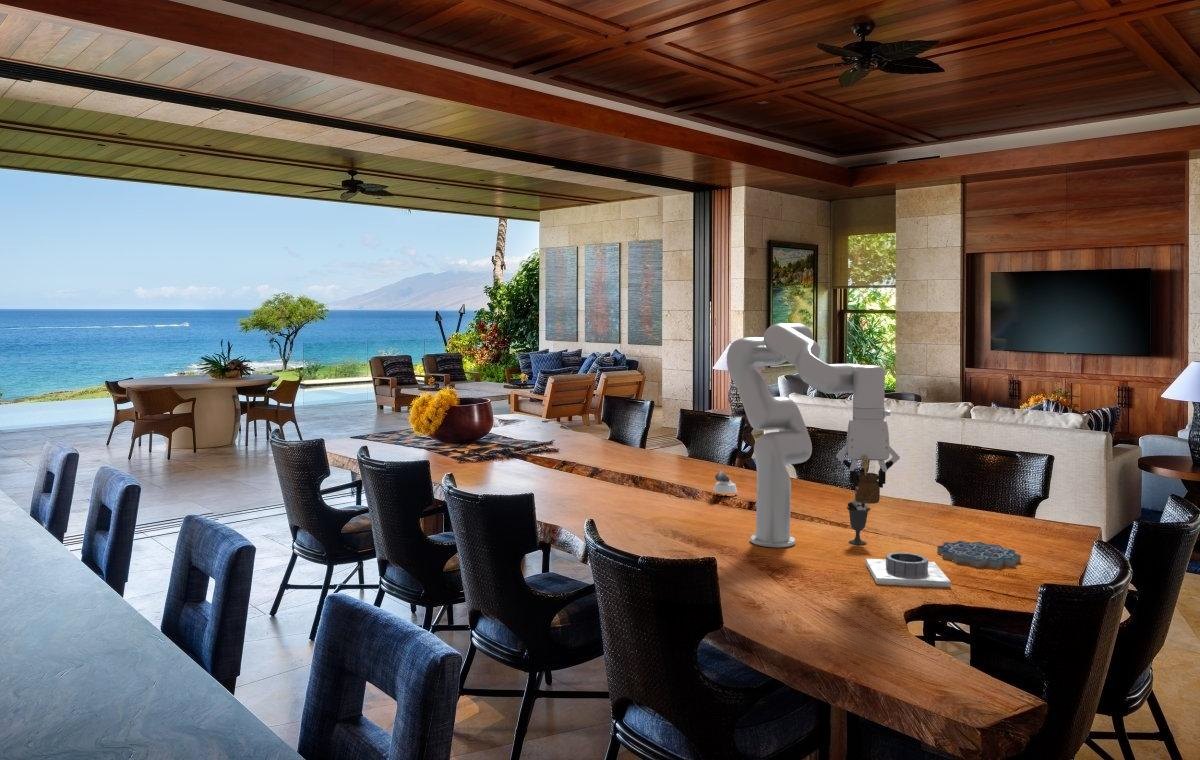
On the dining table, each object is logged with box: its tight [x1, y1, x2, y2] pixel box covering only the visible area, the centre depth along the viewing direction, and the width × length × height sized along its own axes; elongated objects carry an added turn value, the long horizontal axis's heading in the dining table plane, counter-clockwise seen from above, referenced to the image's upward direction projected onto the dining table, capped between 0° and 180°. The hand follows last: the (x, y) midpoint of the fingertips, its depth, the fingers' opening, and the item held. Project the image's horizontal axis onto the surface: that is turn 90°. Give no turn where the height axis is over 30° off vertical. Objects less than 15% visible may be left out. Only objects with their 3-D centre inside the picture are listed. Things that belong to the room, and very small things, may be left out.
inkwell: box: [713, 470, 738, 493], centre depth 305 cm, size 9×18×10 cm, turn 164°
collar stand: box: [865, 551, 952, 589], centre depth 212 cm, size 17×17×4 cm
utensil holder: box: [854, 456, 881, 505], centre depth 213 cm, size 6×6×12 cm
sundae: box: [846, 498, 871, 546], centre depth 243 cm, size 7×7×15 cm
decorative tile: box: [936, 540, 1022, 570], centre depth 229 cm, size 20×20×2 cm
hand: (867, 485), depth 213 cm, fingers closed on utensil holder, 5 cm apart
